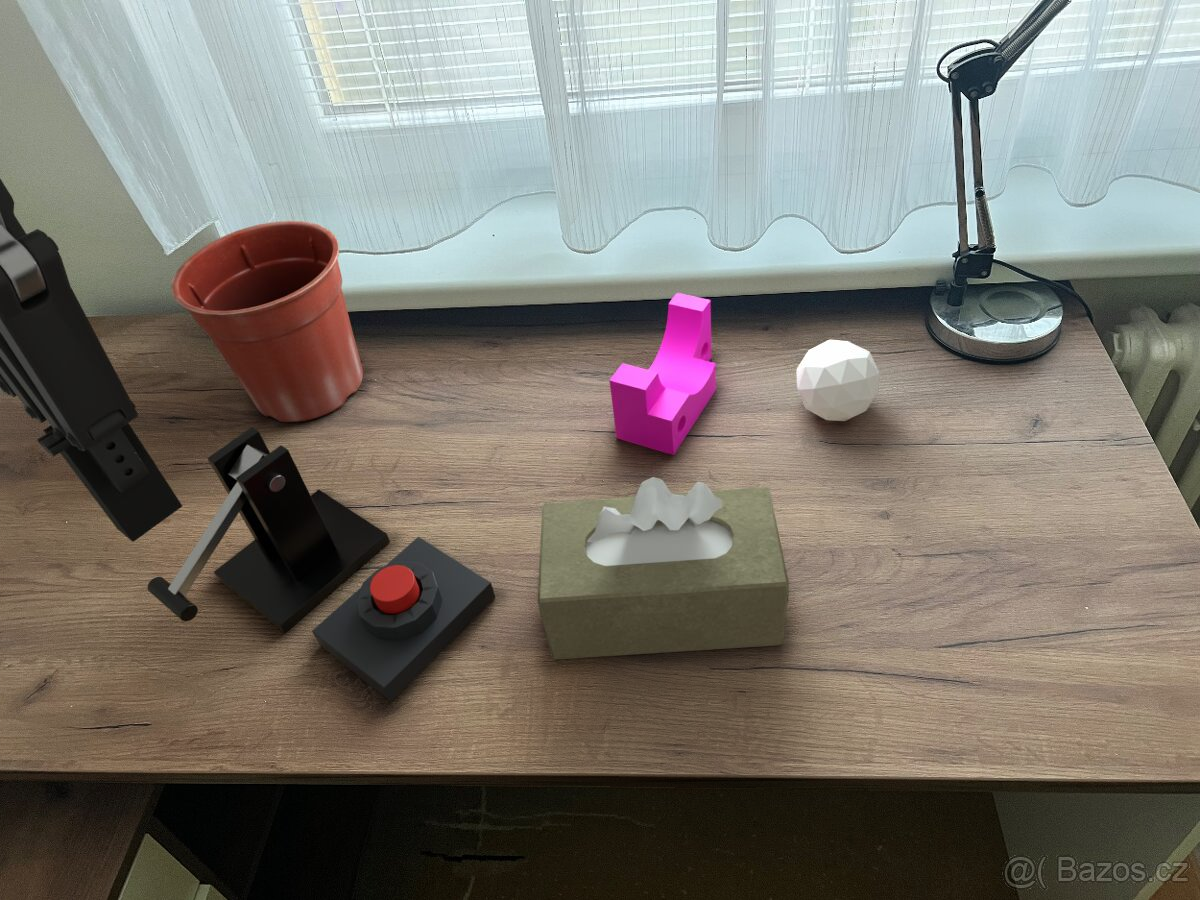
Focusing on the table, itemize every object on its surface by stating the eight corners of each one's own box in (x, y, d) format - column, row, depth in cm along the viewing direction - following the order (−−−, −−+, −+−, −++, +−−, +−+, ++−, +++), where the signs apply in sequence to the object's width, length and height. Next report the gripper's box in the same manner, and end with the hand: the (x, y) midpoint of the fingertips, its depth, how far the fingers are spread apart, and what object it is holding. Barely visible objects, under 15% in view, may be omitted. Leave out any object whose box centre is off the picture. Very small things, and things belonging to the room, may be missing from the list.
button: (396, 621, 69) (390, 608, 68) (366, 600, 71) (360, 587, 70) (428, 591, 71) (423, 578, 70) (399, 571, 73) (393, 558, 72)
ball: (814, 419, 90) (800, 343, 89) (894, 408, 86) (880, 327, 85) (793, 434, 83) (777, 352, 82) (878, 422, 79) (863, 335, 78)
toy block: (673, 455, 84) (670, 396, 79) (616, 438, 87) (609, 380, 82) (733, 363, 93) (733, 305, 88) (679, 350, 96) (677, 292, 90)
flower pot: (203, 414, 96) (134, 292, 85) (304, 329, 106) (255, 209, 95) (314, 455, 89) (256, 329, 78) (411, 360, 99) (372, 236, 88)
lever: (196, 624, 69) (172, 618, 67) (162, 595, 72) (138, 588, 70) (293, 471, 71) (273, 461, 69) (257, 448, 74) (237, 437, 71)
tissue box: (548, 661, 69) (515, 532, 58) (552, 563, 76) (523, 432, 65) (787, 646, 68) (800, 512, 57) (769, 548, 75) (776, 412, 64)
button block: (391, 702, 68) (377, 675, 65) (320, 645, 73) (303, 618, 70) (496, 597, 74) (487, 569, 72) (424, 551, 79) (413, 522, 76)
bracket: (285, 633, 74) (219, 528, 64) (218, 580, 79) (148, 474, 69) (390, 541, 80) (344, 433, 70) (322, 497, 85) (271, 390, 75)
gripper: (2, -26, 24) (294, 525, 41) (-160, -66, 31) (148, 423, 47) (-309, 74, 20) (152, 638, 37) (-419, 4, 27) (14, 510, 43)
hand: (149, 517), depth 42 cm, fingers closed
